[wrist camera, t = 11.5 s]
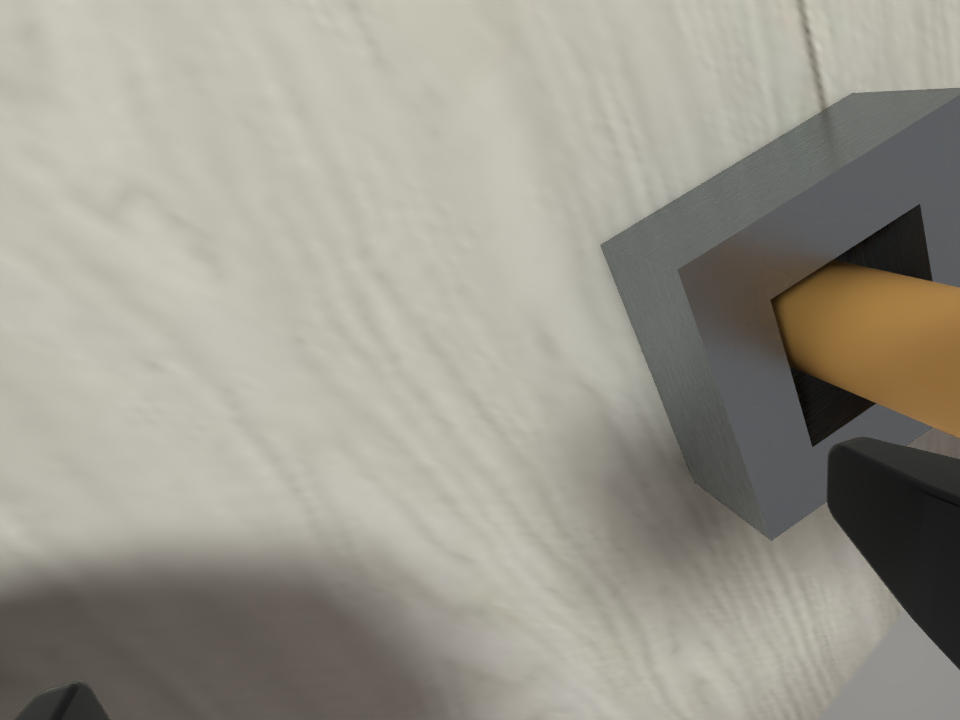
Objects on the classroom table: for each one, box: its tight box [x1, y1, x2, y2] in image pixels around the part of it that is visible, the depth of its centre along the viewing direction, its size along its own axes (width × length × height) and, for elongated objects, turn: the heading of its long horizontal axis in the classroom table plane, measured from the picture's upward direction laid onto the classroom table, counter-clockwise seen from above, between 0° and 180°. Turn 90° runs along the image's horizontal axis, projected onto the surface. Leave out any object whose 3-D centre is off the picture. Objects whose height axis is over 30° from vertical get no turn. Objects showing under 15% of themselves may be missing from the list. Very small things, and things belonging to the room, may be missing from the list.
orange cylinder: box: [771, 260, 960, 438], centre depth 18 cm, size 4×4×13 cm
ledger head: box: [601, 88, 960, 541], centre depth 23 cm, size 18×10×4 cm, turn 116°
